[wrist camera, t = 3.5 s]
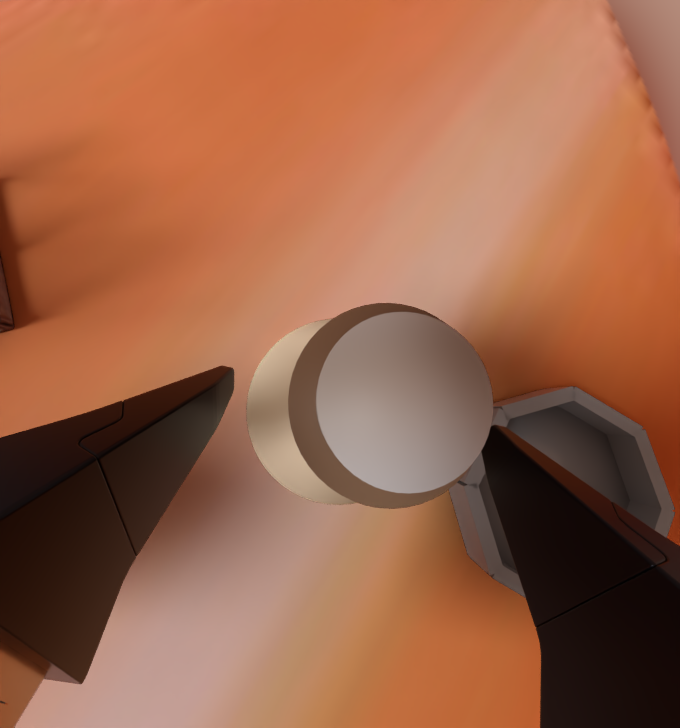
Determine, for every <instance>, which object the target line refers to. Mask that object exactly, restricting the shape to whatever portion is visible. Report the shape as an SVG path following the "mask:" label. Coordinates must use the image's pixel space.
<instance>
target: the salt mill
mask: <svg viewBox="0 0 680 728" xmlns="http://www.w3.org/2000/svg"><path fill="white" fill-rule="evenodd" d="M288 412H289V419H290V425H291V430H292V433H293V436H294V439H295V442H296V444H297V447H298V449H299V451H300V453H301V455H302V457H303V458H304V460H305V461H306V463H307V464H308V466H309V467H310V468H311V470H312V471H313V472H314V473H315V474H316V476H317V477H318V478H319V479H320V480H322V481H323V482H324V483H325V484H326V485H327V486H328V487H330V488H331V489H332V490H334V491H335V492H337V493H338V494H340V495H342V496H344V497H346V498H348V499H350V500H352V501H354V502H357V503H360V504H363V505H366V506H371V507H376V508H389V509H395V508H406V507H411V506H415V505H419V504H422V503H424V502H427V501H430V500H432V499H434V498H436V497H437V496H439V495H441V494H443V493H444V492H446V491H447V490H448V489H450V488H451V487H452V486H454V485H455V484H456V483H457V482H458V481H459V480H460V479H461V478H462V477H463V476H464V475H465V473H466V472H467V471H468V469H469V468H470V467H471V465H472V464H473V462H474V461H475V459H476V458H477V457H478V455H479V454H480V452H481V450H482V448H483V447H484V445H485V442H486V440H487V437H488V435H489V431H490V427H491V423H492V416H493V396H492V388H491V384H490V380H489V376H488V374H487V371H486V369H485V366H484V364H483V362H482V361H481V359H480V357H479V355H478V354H477V352H476V351H475V349H474V348H473V347H472V346H471V344H470V343H469V342H468V341H467V340H466V339H465V338H464V337H463V336H462V335H461V334H460V333H458V332H457V331H456V330H455V329H453V328H452V327H450V326H449V325H447V324H446V323H445V322H443V321H442V320H440V319H439V318H437V317H435V316H433V315H431V314H430V313H428V312H426V311H423V310H420V309H418V308H415V307H411V306H407V305H402V304H393V303H376V304H370V305H364V306H361V307H357V308H354V309H351V310H349V311H346V312H344V313H342V314H340V315H338V316H337V317H335V318H333V319H332V320H330V321H329V322H328V323H326V324H325V325H324V326H323V327H322V328H320V329H319V330H318V331H317V332H316V333H315V335H314V336H313V337H312V338H311V339H310V340H309V342H308V343H307V345H306V346H305V347H304V349H303V351H302V352H301V354H300V356H299V358H298V360H297V362H296V365H295V368H294V370H293V373H292V377H291V381H290V386H289V395H288Z"/></svg>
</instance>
